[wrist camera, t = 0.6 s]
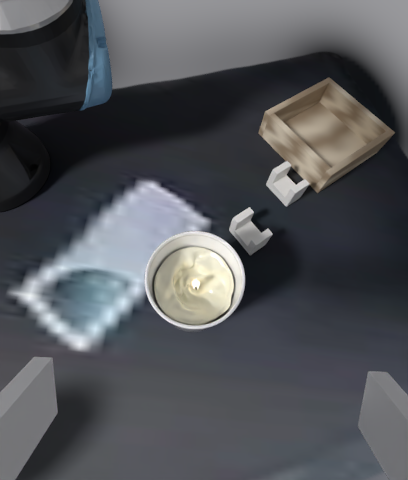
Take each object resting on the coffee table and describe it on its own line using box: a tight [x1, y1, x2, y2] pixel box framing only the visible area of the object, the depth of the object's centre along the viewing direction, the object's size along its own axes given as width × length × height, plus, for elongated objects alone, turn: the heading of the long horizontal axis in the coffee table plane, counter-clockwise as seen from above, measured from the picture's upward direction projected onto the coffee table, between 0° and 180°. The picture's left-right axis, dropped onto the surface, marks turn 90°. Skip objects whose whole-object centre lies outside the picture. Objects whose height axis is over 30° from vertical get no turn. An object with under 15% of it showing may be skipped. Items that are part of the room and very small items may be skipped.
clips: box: [229, 161, 310, 255], centre depth 43 cm, size 8×13×4 cm, turn 126°
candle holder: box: [145, 231, 245, 332], centre depth 33 cm, size 10×10×12 cm
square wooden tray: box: [259, 78, 395, 193], centre depth 49 cm, size 15×15×5 cm
